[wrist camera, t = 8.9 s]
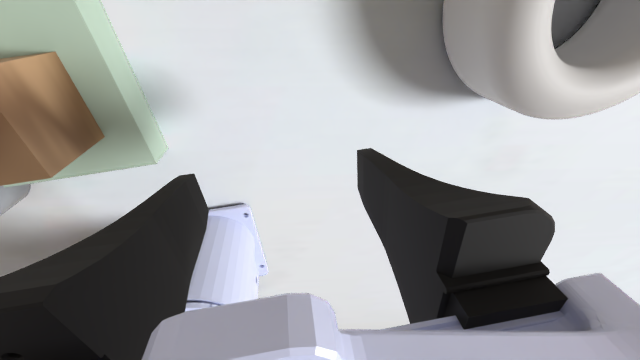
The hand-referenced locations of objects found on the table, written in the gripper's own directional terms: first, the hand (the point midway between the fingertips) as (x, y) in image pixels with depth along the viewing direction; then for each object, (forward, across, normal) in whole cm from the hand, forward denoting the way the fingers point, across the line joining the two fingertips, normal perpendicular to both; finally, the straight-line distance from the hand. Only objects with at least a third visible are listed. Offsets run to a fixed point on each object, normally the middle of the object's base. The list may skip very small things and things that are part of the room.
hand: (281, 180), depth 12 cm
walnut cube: (+8, +14, -3) cm, 16 cm away
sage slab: (+10, +14, -3) cm, 18 cm away
